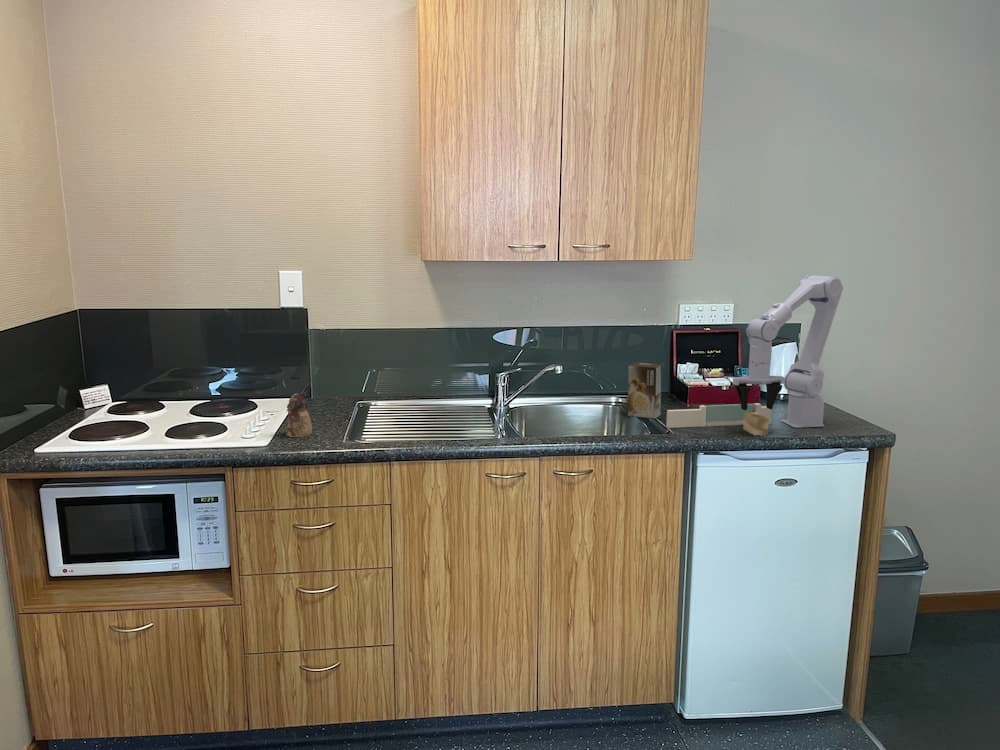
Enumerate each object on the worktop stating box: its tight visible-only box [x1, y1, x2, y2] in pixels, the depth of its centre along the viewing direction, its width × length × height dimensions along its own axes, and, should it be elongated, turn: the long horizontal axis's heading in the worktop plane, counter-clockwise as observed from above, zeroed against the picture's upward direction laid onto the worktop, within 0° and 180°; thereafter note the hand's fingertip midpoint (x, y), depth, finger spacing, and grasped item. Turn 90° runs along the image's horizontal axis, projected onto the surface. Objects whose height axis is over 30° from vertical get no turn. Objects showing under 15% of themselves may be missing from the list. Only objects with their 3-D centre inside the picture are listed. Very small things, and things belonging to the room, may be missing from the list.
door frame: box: [666, 402, 773, 429], centre depth 230 cm, size 32×2×6 cm, turn 98°
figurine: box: [286, 392, 313, 438], centre depth 221 cm, size 7×7×12 cm
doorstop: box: [743, 412, 770, 437], centre depth 222 cm, size 4×7×5 cm, turn 9°
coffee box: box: [627, 362, 663, 419], centre depth 241 cm, size 9×6×16 cm
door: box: [705, 403, 755, 422], centre depth 230 cm, size 15×1×4 cm, turn 98°
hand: (756, 408), depth 221 cm, fingers open, 7 cm apart
